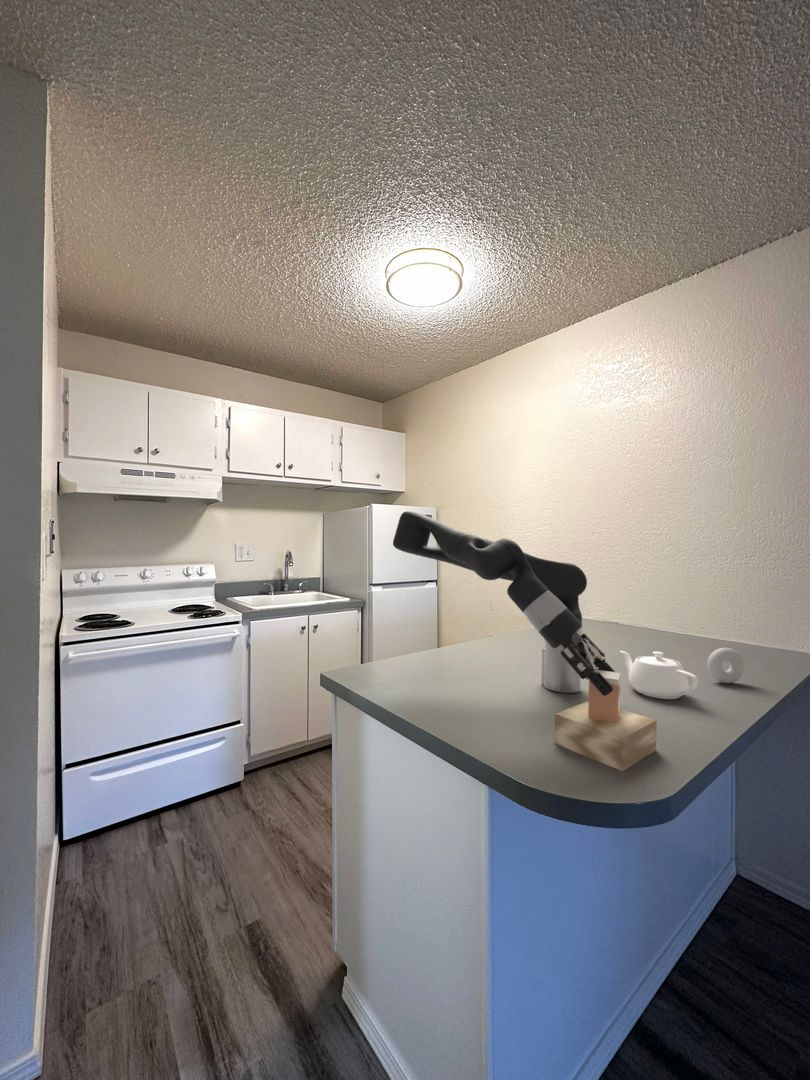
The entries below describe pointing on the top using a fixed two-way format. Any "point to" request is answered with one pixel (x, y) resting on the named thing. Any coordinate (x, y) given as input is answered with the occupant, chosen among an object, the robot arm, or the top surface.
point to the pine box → (606, 736)
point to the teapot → (658, 676)
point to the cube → (605, 699)
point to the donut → (734, 669)
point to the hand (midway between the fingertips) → (612, 686)
